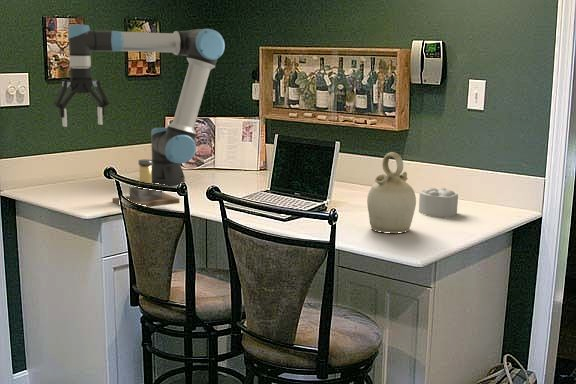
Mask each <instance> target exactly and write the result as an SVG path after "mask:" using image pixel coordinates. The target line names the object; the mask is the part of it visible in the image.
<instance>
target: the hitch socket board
mask: <svg viewBox="0 0 576 384" xmlns="http://www.w3.org/2000/svg"><path fill="white" fill-rule="evenodd" d="M118 197H119V196H118ZM118 197H112V203H114V204H115V205H118V206H120V205H119V198H118ZM125 197H126V198H127V199H129V200H130V201H132V202H134V203H137V204H141V205H146V206H150V207H157V206H164V205H165V206H166V205H171V204H172V205H173V204H180V202H181V201H180V198H178V197H175V196H173V195H171V194H168V193H165V192H163V190H162V191H156V190H149V189H145V190H141V189H140V188H138V187H134V186H129V195H127V196H125Z"/></svg>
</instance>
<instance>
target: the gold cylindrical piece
mask: <svg viewBox="0 0 576 384" xmlns="http://www.w3.org/2000/svg"><path fill="white" fill-rule="evenodd" d="M152 164H153V160H152V159H148V158H147V159H146V158H145V159H138V167H139V183H140V182H145V183H152ZM140 189H141V190H145V189H143V188H140Z"/></svg>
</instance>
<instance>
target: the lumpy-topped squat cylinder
mask: <svg viewBox="0 0 576 384" xmlns="http://www.w3.org/2000/svg"><path fill="white" fill-rule="evenodd" d="M418 195H419V198H418V213H419V212H420V214H421V213H423V214H422V215H424V214H426V215H425V216H428V215H431V216H430V217H434V216H439V217H438V218H443V217H449V218H452V217H454V216H456V214H458V204H459V203H458V202H459V201H458V200H459V194H458V193H457V192H455V191H453V190H452V189H451V190H450V189H447V188H445V187H440V188H438V189H437V188H436V187H429V188H427V189H423V190H420V192H419V194H418ZM453 215H454V216H453Z"/></svg>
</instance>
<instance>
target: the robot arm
mask: <svg viewBox="0 0 576 384" xmlns="http://www.w3.org/2000/svg"><path fill="white" fill-rule="evenodd" d="M67 35H68V37H67V39H68V52H69V67H71V68H70V69H69V77H70V78H69V79H70V80H69V81H65V80H62V81H61V88H60V90H59V91H58V94H57V96H56V99H55V102H54V104H53V107H55V108H58V112H59V117H60V118H61V120H62V121H61V122H62V123H61V124H62V127H64V128H67V127H68V119H67V118H68V115H67V108H66V106H67V105H68V104H69V102H70V101H71V100H72V98H73V97H74V96H75V95H76V94H88V95H89V96H90V97H91V98H92V99H93V100H94V101H95V103H96V104H97V105H98V106H97V108H96V109H97V125H100V126H101V125H102V126H103V123H104V122H103V121H104V120H103V116H105V108H106V106H109V105H110V102H109V100H108V98H107V96H106V95H105V92H104V90H103V88H102V87H101V82H100V80H97V79H96V80H92V69H91V67H92V61H91V60H92V57H91V56H92V55H91V52H112V53H114V52H135V53H136V52H139V53H141V52H142V53H143V52H144V53H145V52H146V53H171V54H173V55H175V56H184V57H186V60H187V62H188V67H187V70H186V74H185V78H184V81H183V85H182V88H181V92H180V95H179V99H178V102H177V107H176V109H175V114H174V117H173V121H172V122H171V123H170V124H168V125H167V127H154V128H152V129H151V132H150V134H151V135H150V138H151V140H150V141H151V160H153V164H152V183H159V184H165V185H164V186H177V185H176V184H178V185H180V184H179V183H181V182H184V183H185V182H186V181H185V179H186V176H185V175H184V171H183V168H182V165H181V164H186V163H188V162H189V161H191V160H192V159H193V157H194V156H195V154H196V150H197V146H196V145H197V144H196V142H195V139H196V136H197V132H196V130H195V126H196V121H197V118H198V116H199V115H198V114H199V111H200V108H201V105H202V100H203V97H204V93H205V89H206V86H207V82H208V78H209V76H210V72H211V70H213V69H215V68H216V65H217V61H218V59H219V58H220V57H221V56H222V55H223V54H224V52H225V47H226V44H225V40H224V38H223V35H221V33H219V32H218V31H217V30H215V29H211V28H203V29H202V28H200V29H199V28H197V29H196V28H195V29H190V30H182V31H181V30H175V31H173V33H171V32H170V33H169V32H168V33H167V32H143V31H142V32H140V31H120V30H92V29H91V28H90V25H89V24H69V26H68V33H67ZM69 87H70V90H69V92H68V93H67V94H66V92H67V90H68V89H67V88H69ZM92 87H94V88H95V90H96V91H97V93H98V95H99V96H98V95H97V94H96V93H95V91H94V90H93V89H92ZM65 94H66V96H65ZM99 97H100V98H99Z"/></svg>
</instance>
